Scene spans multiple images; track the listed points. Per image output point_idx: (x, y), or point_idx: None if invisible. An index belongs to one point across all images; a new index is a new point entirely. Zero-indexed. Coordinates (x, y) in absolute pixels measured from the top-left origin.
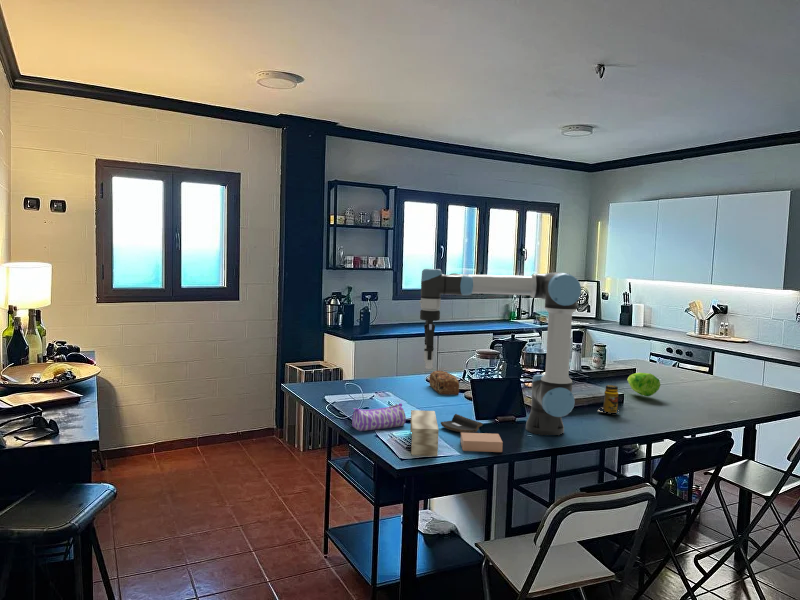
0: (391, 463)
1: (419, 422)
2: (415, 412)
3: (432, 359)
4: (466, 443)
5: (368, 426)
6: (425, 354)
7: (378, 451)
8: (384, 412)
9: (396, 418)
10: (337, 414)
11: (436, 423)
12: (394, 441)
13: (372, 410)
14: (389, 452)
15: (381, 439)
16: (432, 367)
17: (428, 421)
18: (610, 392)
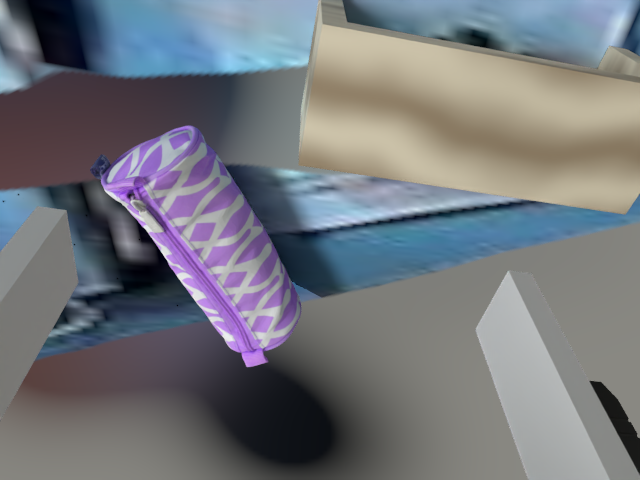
0: (614, 225)
1: (545, 166)
2: (348, 151)
3: (578, 368)
4: None
5: (288, 278)
6: (33, 348)
7: (485, 247)
8: (223, 250)
9: (224, 185)
10: None
11: (598, 80)
12: (387, 185)
13: (226, 298)
14: (507, 217)
15: (356, 225)
16: (534, 283)
17: (543, 117)
18: None
